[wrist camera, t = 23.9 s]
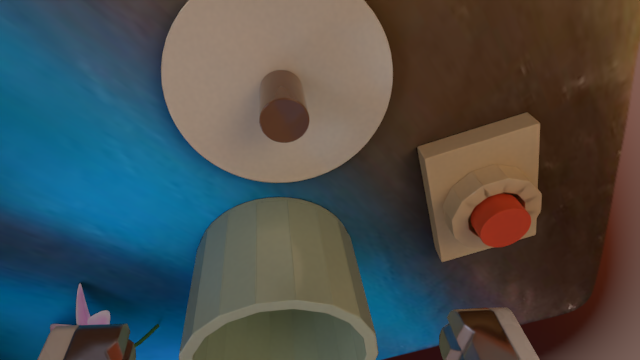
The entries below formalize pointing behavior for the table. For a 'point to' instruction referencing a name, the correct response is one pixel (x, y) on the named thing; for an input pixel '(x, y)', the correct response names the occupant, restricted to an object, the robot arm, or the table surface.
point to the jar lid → (277, 83)
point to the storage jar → (277, 288)
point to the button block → (479, 179)
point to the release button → (500, 220)
